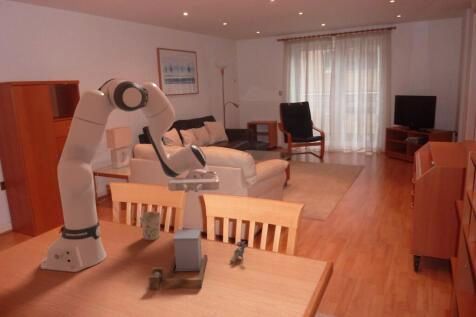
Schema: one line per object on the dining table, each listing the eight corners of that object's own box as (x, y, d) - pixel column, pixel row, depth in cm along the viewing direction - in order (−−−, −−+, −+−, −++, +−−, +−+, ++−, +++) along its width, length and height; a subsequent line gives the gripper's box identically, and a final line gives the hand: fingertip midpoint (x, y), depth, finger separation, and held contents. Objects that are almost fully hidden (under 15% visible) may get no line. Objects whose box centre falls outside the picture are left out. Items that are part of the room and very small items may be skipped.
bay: (149, 289, 113) (148, 277, 112) (163, 260, 131) (162, 249, 130) (201, 289, 112) (200, 276, 111) (207, 259, 130) (206, 248, 129)
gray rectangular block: (175, 271, 123) (173, 238, 120) (179, 260, 130) (177, 229, 127) (199, 271, 122) (198, 238, 120) (202, 260, 130) (200, 229, 127)
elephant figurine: (219, 260, 130) (232, 243, 137) (231, 271, 130) (243, 253, 137) (232, 252, 123) (245, 234, 129) (244, 264, 123) (257, 245, 129)
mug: (164, 233, 154) (162, 211, 152) (155, 246, 142) (153, 223, 140) (145, 232, 155) (144, 211, 153) (135, 246, 143) (132, 222, 141)
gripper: (171, 173, 147) (163, 182, 134) (220, 172, 147) (217, 181, 133) (172, 187, 149) (164, 198, 135) (220, 186, 148) (218, 197, 135)
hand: (191, 190), depth 134 cm, fingers open, 2 cm apart
